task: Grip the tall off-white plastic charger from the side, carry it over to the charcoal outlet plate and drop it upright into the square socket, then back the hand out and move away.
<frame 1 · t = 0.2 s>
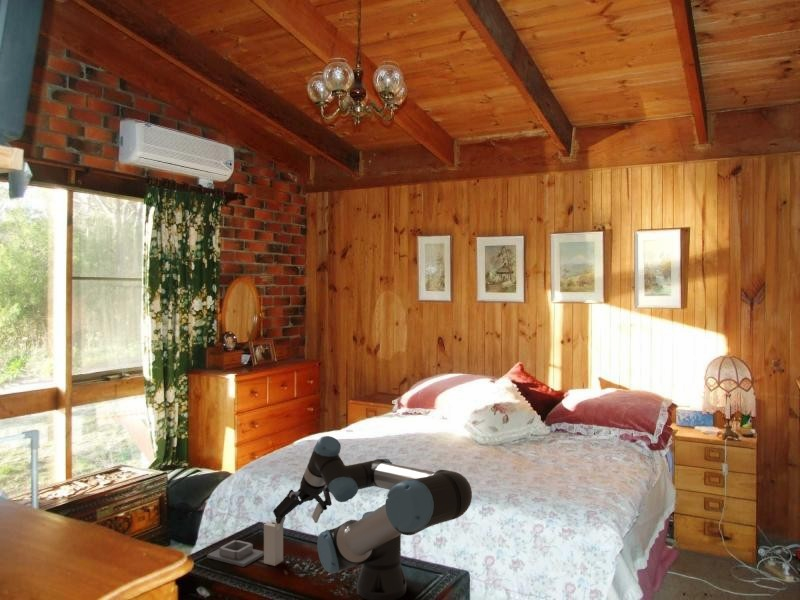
hand: (296, 524, 208), 15 cm above the table, tool tilted 35°, fingers open, 13 cm apart
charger: (273, 562, 214), on the table
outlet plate: (236, 556, 218), on the table
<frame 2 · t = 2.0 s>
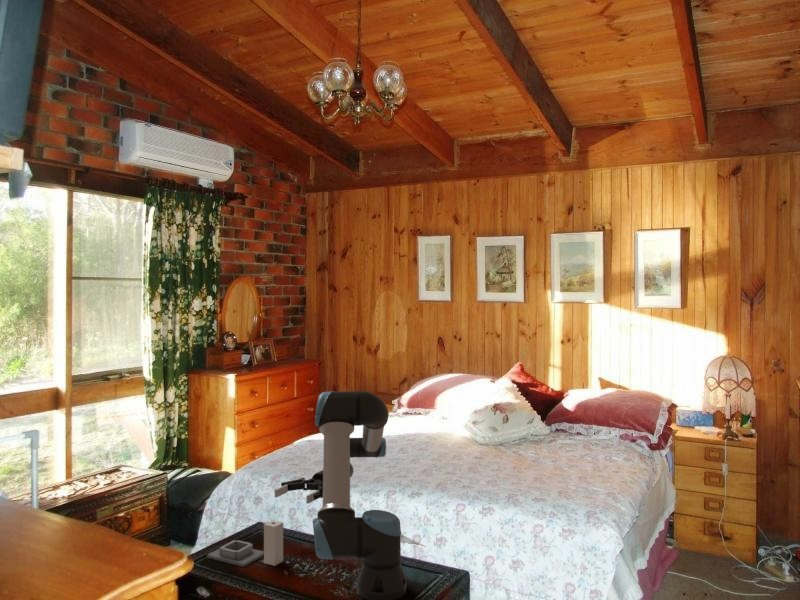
hand: (291, 496, 222), 19 cm above the table, tool horizontal, fingers open, 13 cm apart
nothing on the table moved.
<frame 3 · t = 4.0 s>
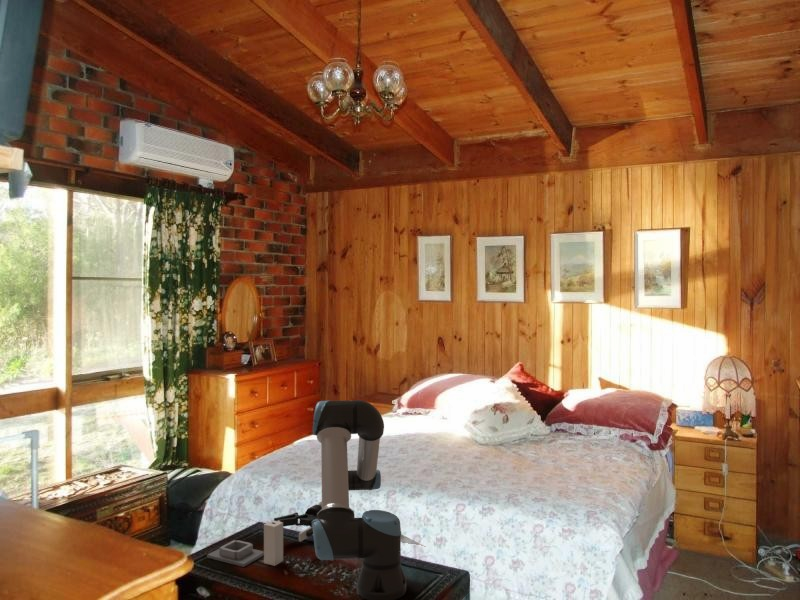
hand: (283, 533, 219), 7 cm above the table, tool horizontal, fingers open, 13 cm apart
nothing on the table moved.
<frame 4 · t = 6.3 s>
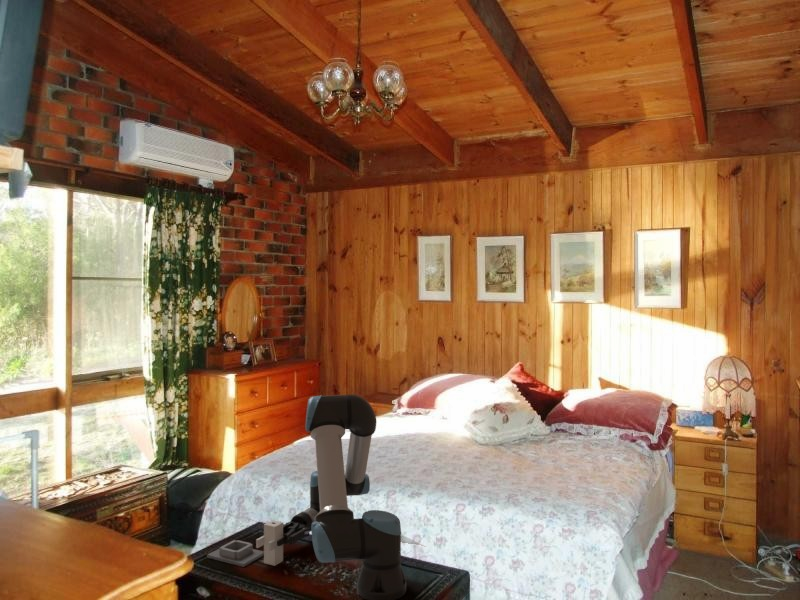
hand: (263, 545, 209), 8 cm above the table, tool horizontal, fingers closed on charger, 4 cm apart
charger: (273, 561, 214), on the table, touching gripper
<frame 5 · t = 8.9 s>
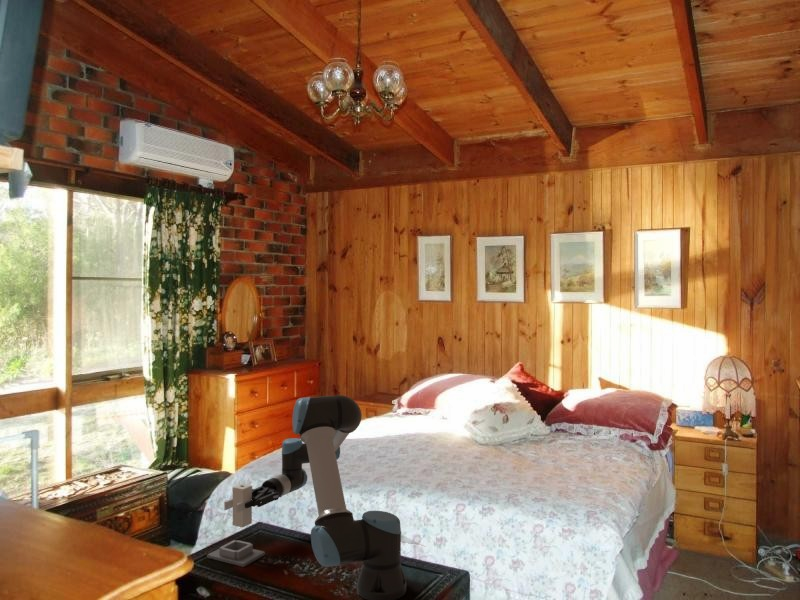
hand: (231, 507, 214), 18 cm above the table, tool horizontal, fingers closed on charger, 4 cm apart
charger: (242, 524, 218), point 11 cm above the table, touching gripper
when the fingers open (10 cm above the table, at t = 11.3 s): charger drops 1 cm, resting on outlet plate.
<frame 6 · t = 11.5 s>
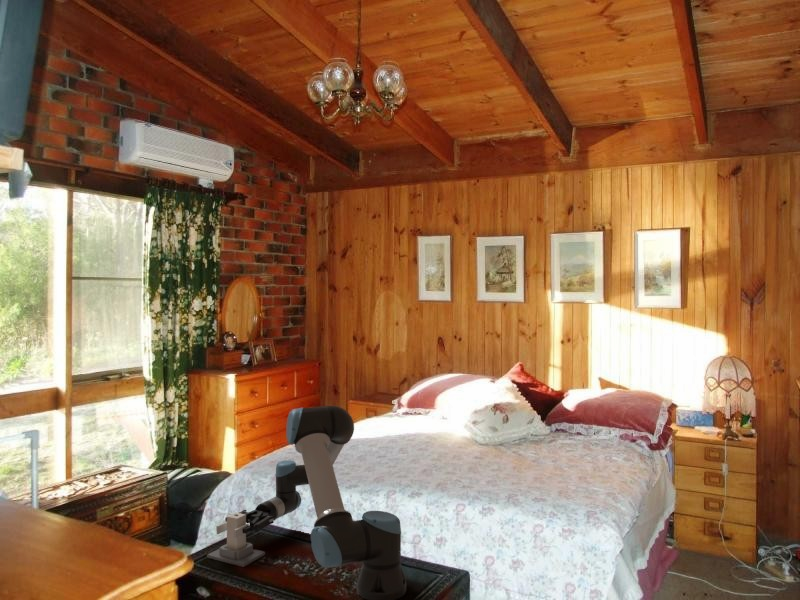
hand: (226, 532, 214), 10 cm above the table, tool horizontal, fingers open, 7 cm apart
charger: (236, 553, 218), point 1 cm above the table, touching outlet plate
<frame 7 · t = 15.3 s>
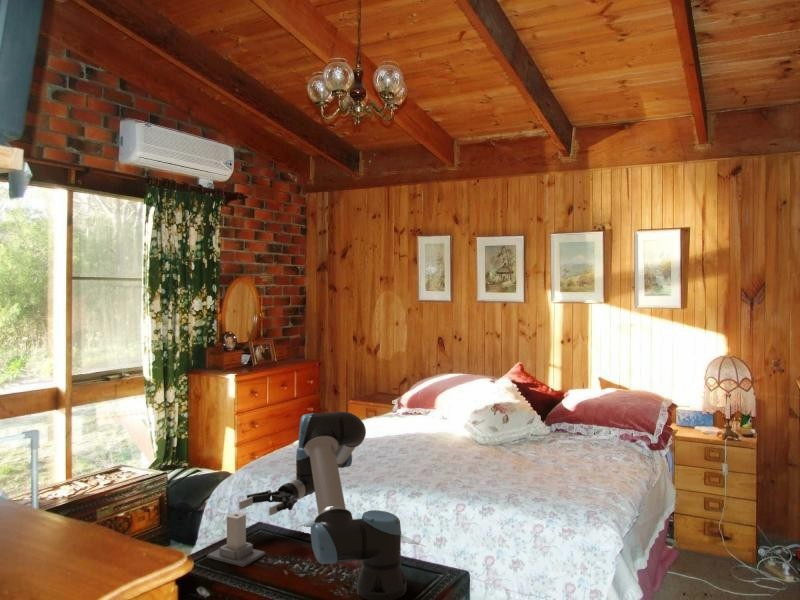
hand: (254, 508, 227), 13 cm above the table, tool horizontal, fingers open, 13 cm apart
nothing on the table moved.
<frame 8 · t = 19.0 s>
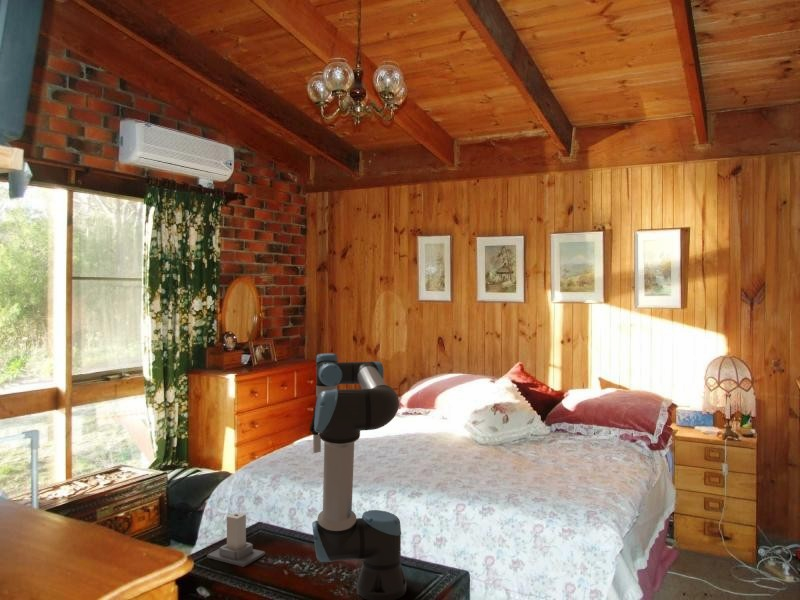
hand: (326, 456, 228), 32 cm above the table, tool pointing down, fingers open, 13 cm apart
nothing on the table moved.
at the end: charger 0.1 cm off-centre on the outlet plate, point 1.0 cm above the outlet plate's base; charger tilted 0°; the gripper is holding nothing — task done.
